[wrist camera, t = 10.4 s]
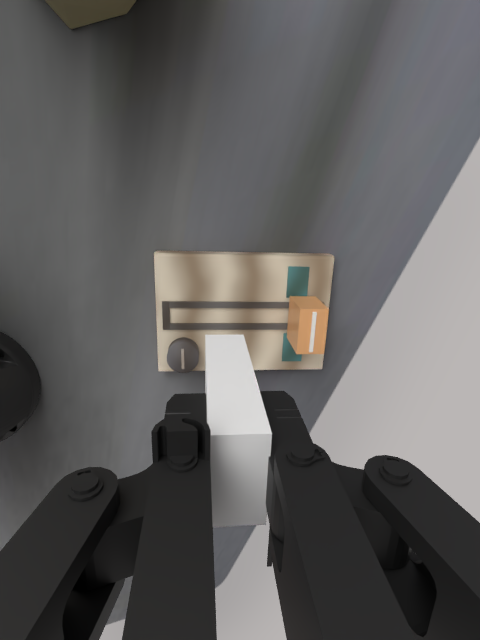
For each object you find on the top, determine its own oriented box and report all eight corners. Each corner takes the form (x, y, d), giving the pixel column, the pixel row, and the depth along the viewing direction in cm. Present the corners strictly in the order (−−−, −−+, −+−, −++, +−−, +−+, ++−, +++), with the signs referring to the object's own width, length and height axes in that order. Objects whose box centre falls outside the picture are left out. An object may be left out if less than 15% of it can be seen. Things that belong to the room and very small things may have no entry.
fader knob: (286, 337, 46) (296, 355, 41) (289, 296, 44) (300, 309, 39) (311, 337, 46) (324, 354, 41) (315, 296, 44) (329, 309, 39)
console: (160, 364, 48) (156, 379, 44) (156, 250, 44) (151, 256, 40) (317, 362, 50) (327, 377, 46) (329, 253, 46) (341, 259, 42)
